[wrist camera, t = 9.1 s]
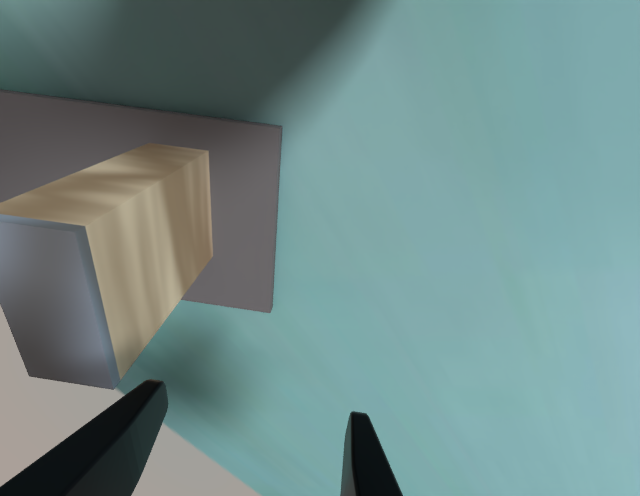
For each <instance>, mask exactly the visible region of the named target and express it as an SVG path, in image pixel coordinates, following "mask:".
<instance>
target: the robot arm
mask: <svg viewBox="0 0 640 496" xmlns="http://www.w3.org/2000/svg"><path fill="white" fill-rule="evenodd" d="M167 408H168V398H167V391H166V385H165V383H164V382H163V381H159V380H153V379H148V380H146V381H144V382H143V383H141V384H140V385H139V386H137V387H136V388H134V389H133V390H132V391H130V392H129V393H128V394H126V395H125V396H124V397H122V398H121V399H119V400H118V401H117V402H115V403H114V404H113V405H111V406H110V407H109V408H107V409H106V410H105V411H103V412H102V413H100V414H99V415H98V416H96V417H95V418H94V419H92V420H91V421H90V422H88V423H87V424H85V425H84V426H83V427H81V428H80V429H79V430H77V431H76V432H75V433H73V434H72V435H70V436H69V437H68V438H66V439H65V440H64V441H62V442H61V443H60V444H58V445H57V446H55V447H54V448H53V449H51V450H50V451H49V452H47V453H46V454H45V455H43V456H42V457H40V458H39V459H38V460H36V461H35V462H34V463H32V464H31V465H30V466H28V467H27V468H25V469H24V470H23V471H21V472H20V473H19V474H17V475H16V476H15V477H13V478H12V479H10V480H9V481H8V482H6V483H5V484H4V485H2V486H1V487H0V496H131V495H132V493H133V491H134V489H135V487H136V485H137V483H138V481H139V479H140V477H141V474H142V472H143V470H144V467H145V465H146V462H147V460H148V457H149V455H150V452H151V450H152V447H153V445H154V442H155V440H156V437H157V435H158V432H159V430H160V427H161V425H162V422H163V420H164V417H165V415H166V412H167ZM340 496H403V495H402V492H401V490H400V488H399V485H398V483H397V481H396V478H395V476H394V474H393V472H392V469H391V467H390V465H389V462H388V460H387V458H386V455H385V453H384V451H383V448H382V446H381V444H380V441H379V439H378V437H377V434H376V432H375V430H374V427H373V425H372V423H371V421H370V418H369V416H368V415H367V414H366V413H361V412H354V411H352V412H351V413H350V416H349V421H348V425H347V429H346V434H345V443H344V456H343V469H342V482H341V495H340Z"/></svg>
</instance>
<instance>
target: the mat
mask: <svg viewBox="0 0 640 496" xmlns="http://www.w3.org/2000/svg"><path fill="white" fill-rule="evenodd" d="M281 141H282V126H278V125H270V124H263V123H255V122H247V121H239V120H232V119H224V118H216V117H209V116H201V115H193V114H185V113H178V112H170V111H162V110H155V109H147V108H139V107H131V106H124V105H116V104H108V103H101V102H93V101H85V100H77V99H70V98H62V97H54V96H47V95H39V94H31V93H23V92H16V91H8V90H0V203H1V202H4V201H6V200H9V199H11V198H14V197H16V196H19V195H21V194H24V193H26V192H29V191H31V190H34V189H36V188H39V187H41V186H44V185H46V184H48V183H51V182H53V181H56V180H58V179H61V178H63V177H66V176H68V175H71V174H73V173H76V172H78V171H81V170H83V169H86V168H88V167H91V166H93V165H96V164H98V163H101V162H103V161H106V160H108V159H111V158H113V157H116V156H118V155H121V154H123V153H125V152H128V151H130V150H133V149H135V148H138V147H140V146H143V145H145V144H148V143H154V144H161V145H169V146H177V147H184V148H192V149H199V150H207V151H209V173H210V197H211V220H212V243H213V257H212V258H211V259H210V261H209V262H208V263H207V265H206V266H205V267H204V269H203V270H202V271H201V273H200V274H199V275H198V277H197V278H196V280H195V281H194V282H193V284H192V285H191V286H190V288H189V289H188V290H187V292H186V293H185V294H184V296H183V297H182V298H181V300H186V301H193V302H200V303H206V304H213V305H220V306H226V307H233V308H240V309H247V310H253V311H260V312H267V313H271V310H272V306H273V288H274V269H275V251H276V233H277V214H278V196H279V177H280V159H281Z"/></svg>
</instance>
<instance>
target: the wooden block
mask: <svg viewBox="0 0 640 496" xmlns="http://www.w3.org/2000/svg"><path fill="white" fill-rule="evenodd" d="M212 257H213V243H212V220H211V197H210V173H209V151H207V150H199V149H192V148H184V147H177V146H169V145H161V144H154V143H148V144H145V145H143V146H140V147H138V148H135V149H133V150H130V151H128V152H125V153H123V154H121V155H118V156H116V157H113V158H111V159H108V160H106V161H103V162H101V163H98V164H96V165H93V166H91V167H88V168H86V169H83V170H81V171H78V172H76V173H73V174H71V175H68V176H66V177H63V178H61V179H58V180H56V181H53V182H51V183H48V184H46V185H44V186H41V187H39V188H36V189H34V190H31V191H29V192H26V193H24V194H21V195H19V196H16V197H14V198H11V199H9V200H6V201H4V202H1V203H0V304H1V307H2V309H3V312H4V314H5V317H6V319H7V321H8V324H9V327H10V329H11V332H12V334H13V337H14V339H15V342H16V344H17V347H18V349H19V352H20V354H21V357H22V359H23V362H24V364H25V367H26V369H27V372H28V375H29V376H31V377H37V378H43V379H50V380H57V381H62V382H68V383H75V384H81V385H88V386H94V387H100V388H107V389H112V390H114V388H115V387H116V386H117V384H118V383H119V382H120V380H121V379H122V378H123V376H124V375H125V374H126V372H127V371H128V370H129V368H130V367H131V366H132V364H133V363H134V361H135V360H136V359H137V357H138V356H139V355H140V353H141V352H142V351H143V349H144V348H145V347H146V345H147V344H148V343H149V341H150V340H151V339H152V337H153V336H154V335H155V333H156V332H157V331H158V329H159V328H160V327H161V325H162V324H163V323H164V321H165V320H166V318H167V317H168V316H169V314H170V313H171V312H172V310H173V309H174V308H175V306H176V305H177V304H178V302H179V301H180V300H181V298H182V297H183V296H184V294H185V293H186V292H187V290H188V289H189V288H190V286H191V285H192V284H193V282H194V281H195V280H196V278H197V277H198V275H199V274H200V273H201V271H202V270H203V269H204V267H205V266H206V265H207V263H208V262H209V261H210V259H211V258H212Z"/></svg>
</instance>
